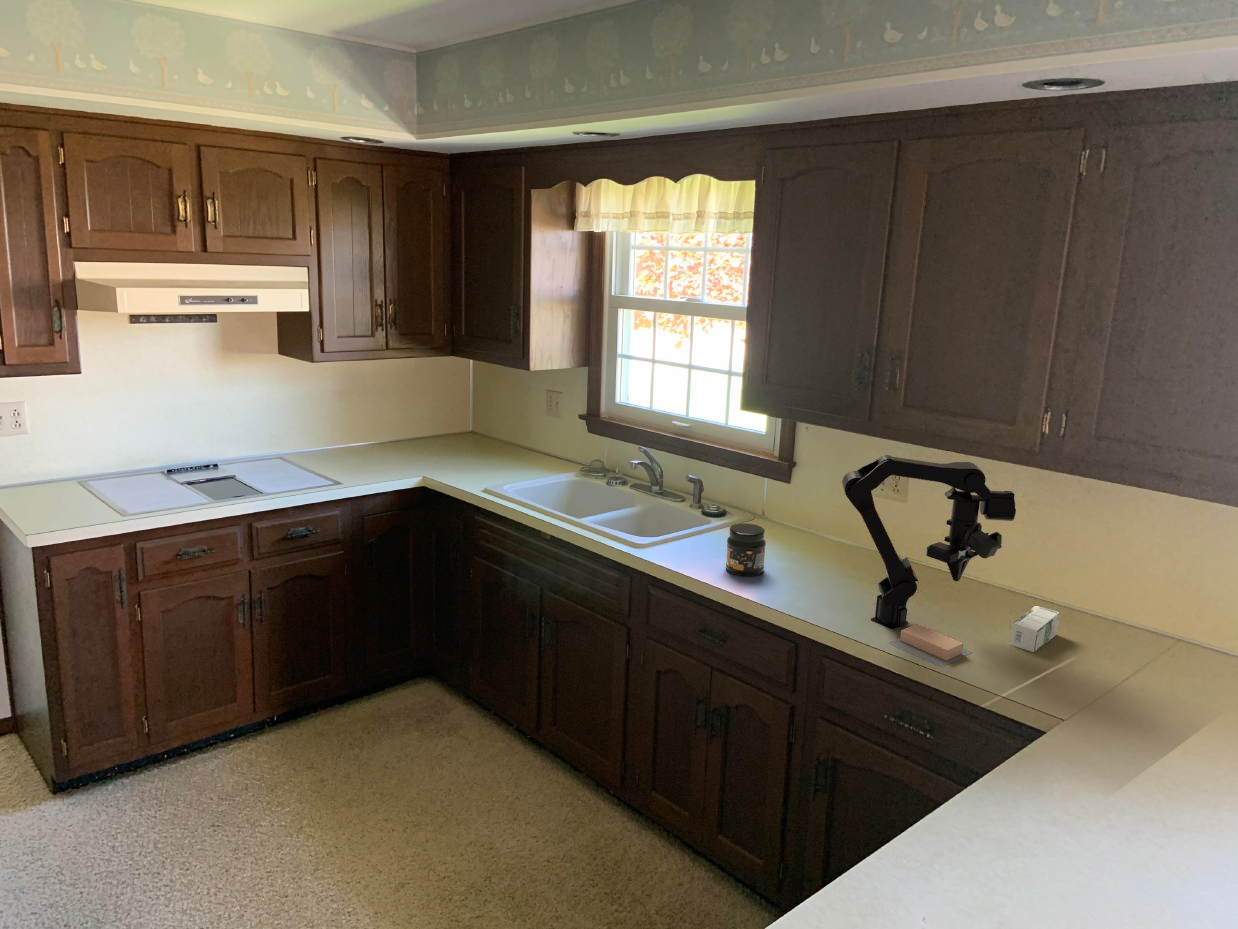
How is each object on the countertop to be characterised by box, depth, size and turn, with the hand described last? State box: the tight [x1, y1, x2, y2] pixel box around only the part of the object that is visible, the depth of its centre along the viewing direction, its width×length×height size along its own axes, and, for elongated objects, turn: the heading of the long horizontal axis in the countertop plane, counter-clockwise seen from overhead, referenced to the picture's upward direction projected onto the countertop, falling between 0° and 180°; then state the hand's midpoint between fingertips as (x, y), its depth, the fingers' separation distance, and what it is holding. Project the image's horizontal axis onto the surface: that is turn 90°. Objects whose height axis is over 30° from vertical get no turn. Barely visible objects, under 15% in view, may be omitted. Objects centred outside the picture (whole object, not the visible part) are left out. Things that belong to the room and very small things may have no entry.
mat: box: [887, 637, 973, 668], centre depth 204 cm, size 14×12×1 cm
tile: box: [899, 623, 964, 661], centre depth 204 cm, size 12×3×6 cm
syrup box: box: [1009, 605, 1060, 653], centre depth 209 cm, size 6×6×14 cm
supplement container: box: [725, 522, 767, 577], centre depth 246 cm, size 10×10×12 cm
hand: (956, 580), depth 212 cm, fingers closed
